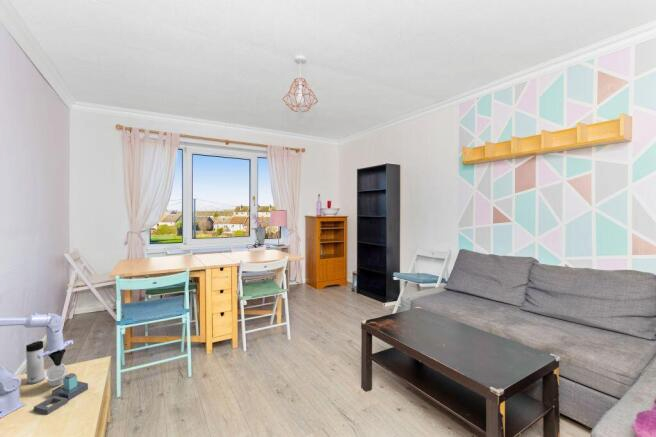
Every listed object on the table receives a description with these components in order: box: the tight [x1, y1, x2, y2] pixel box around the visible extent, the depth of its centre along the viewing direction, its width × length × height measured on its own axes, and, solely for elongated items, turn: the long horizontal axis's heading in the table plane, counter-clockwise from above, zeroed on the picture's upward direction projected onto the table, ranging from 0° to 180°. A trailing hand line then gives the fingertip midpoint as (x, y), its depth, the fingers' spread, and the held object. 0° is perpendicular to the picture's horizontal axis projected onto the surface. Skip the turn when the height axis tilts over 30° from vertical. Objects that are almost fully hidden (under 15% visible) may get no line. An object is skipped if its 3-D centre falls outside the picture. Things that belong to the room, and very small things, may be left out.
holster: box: [33, 395, 69, 415], centre depth 136 cm, size 8×8×2 cm
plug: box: [62, 372, 78, 391], centre depth 145 cm, size 4×4×9 cm
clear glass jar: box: [44, 363, 68, 387], centre depth 150 cm, size 8×8×10 cm
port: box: [51, 380, 89, 402], centre depth 145 cm, size 9×10×3 cm
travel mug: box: [25, 340, 45, 385], centre depth 153 cm, size 6×7×20 cm
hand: (57, 365), depth 148 cm, fingers closed, pressing on clear glass jar
